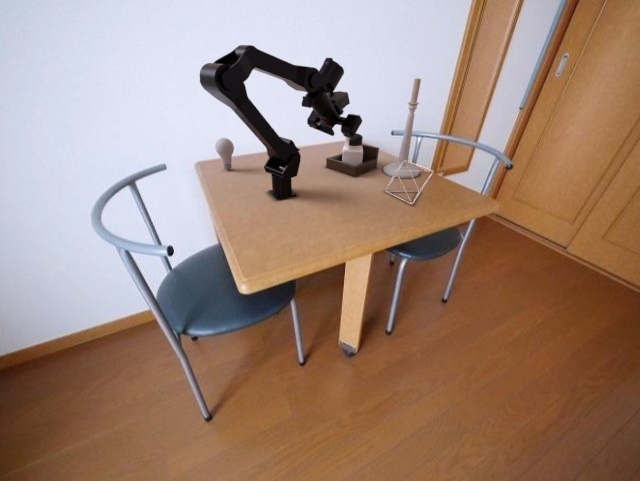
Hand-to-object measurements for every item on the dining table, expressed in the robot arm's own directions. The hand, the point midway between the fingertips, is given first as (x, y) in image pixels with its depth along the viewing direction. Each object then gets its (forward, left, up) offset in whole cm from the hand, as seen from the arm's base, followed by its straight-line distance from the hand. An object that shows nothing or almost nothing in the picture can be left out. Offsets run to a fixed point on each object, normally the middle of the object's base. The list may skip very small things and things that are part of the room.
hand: (343, 137), depth 97 cm
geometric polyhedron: (-26, -5, -12) cm, 30 cm away
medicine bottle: (+2, -5, -12) cm, 13 cm away
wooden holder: (+2, -5, -12) cm, 13 cm away
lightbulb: (+21, +35, -12) cm, 42 cm away
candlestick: (-11, -19, -12) cm, 25 cm away
